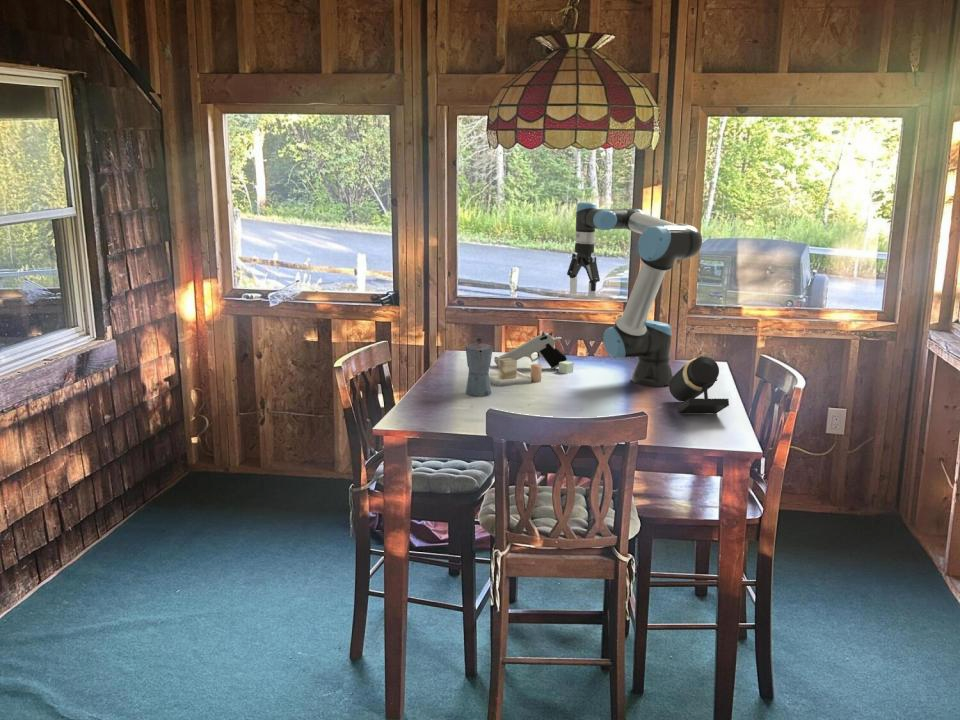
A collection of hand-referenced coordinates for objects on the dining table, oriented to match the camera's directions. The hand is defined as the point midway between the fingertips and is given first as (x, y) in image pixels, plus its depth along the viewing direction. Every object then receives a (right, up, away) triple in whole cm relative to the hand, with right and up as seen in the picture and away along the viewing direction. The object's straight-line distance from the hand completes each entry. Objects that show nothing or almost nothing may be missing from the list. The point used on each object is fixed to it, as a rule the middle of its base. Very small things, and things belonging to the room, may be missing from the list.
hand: (582, 296), depth 354 cm
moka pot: (-41, -37, -35) cm, 66 cm away
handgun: (-20, -28, +4) cm, 35 cm away
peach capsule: (-19, -33, -16) cm, 41 cm away
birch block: (-30, -32, -17) cm, 47 cm away
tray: (-30, -33, -17) cm, 48 cm away
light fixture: (+32, -42, -50) cm, 73 cm away
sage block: (-7, -30, -2) cm, 31 cm away
